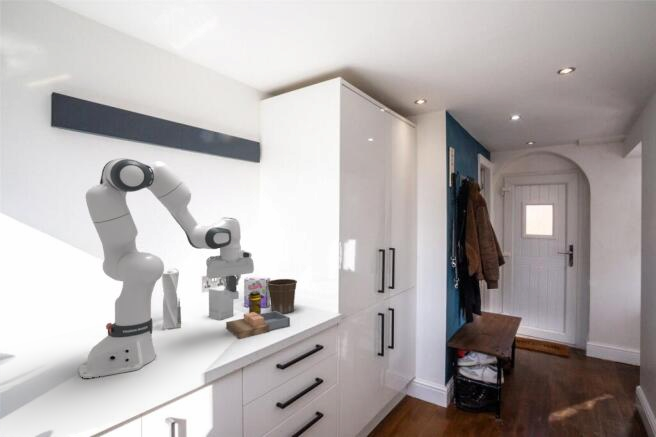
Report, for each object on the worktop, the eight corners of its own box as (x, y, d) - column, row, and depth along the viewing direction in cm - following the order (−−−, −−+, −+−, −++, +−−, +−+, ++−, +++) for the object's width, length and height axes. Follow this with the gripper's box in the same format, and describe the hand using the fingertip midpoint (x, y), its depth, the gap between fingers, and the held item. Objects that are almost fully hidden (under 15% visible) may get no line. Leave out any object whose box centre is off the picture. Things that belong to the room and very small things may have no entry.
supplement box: (234, 315, 167) (234, 287, 167) (220, 320, 160) (219, 290, 160) (222, 313, 172) (222, 285, 172) (208, 317, 164) (208, 288, 164)
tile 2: (253, 326, 142) (253, 319, 142) (248, 323, 146) (248, 317, 146) (263, 324, 145) (263, 317, 145) (259, 321, 149) (259, 315, 149)
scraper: (232, 299, 136) (231, 278, 136) (223, 294, 145) (223, 274, 145) (239, 298, 138) (238, 277, 138) (230, 293, 147) (229, 273, 147)
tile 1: (248, 323, 147) (248, 316, 147) (243, 320, 151) (243, 313, 151) (258, 320, 150) (258, 314, 150) (253, 318, 154) (253, 311, 154)
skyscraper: (180, 329, 148) (180, 268, 148) (160, 331, 144) (160, 269, 144) (181, 323, 155) (181, 265, 155) (162, 325, 152) (162, 266, 152)
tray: (268, 331, 144) (268, 322, 144) (255, 323, 156) (255, 314, 156) (289, 326, 151) (289, 317, 151) (275, 318, 162) (275, 310, 162)
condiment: (263, 316, 167) (263, 293, 167) (247, 318, 162) (247, 295, 162) (258, 312, 173) (258, 290, 173) (243, 315, 168) (242, 292, 168)
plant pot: (267, 316, 166) (267, 285, 166) (266, 308, 182) (266, 279, 182) (299, 314, 170) (299, 283, 170) (295, 306, 185) (295, 278, 185)
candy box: (243, 307, 183) (243, 278, 183) (248, 304, 189) (248, 276, 189) (266, 308, 181) (266, 279, 181) (270, 305, 187) (270, 277, 187)
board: (239, 338, 135) (239, 331, 135) (226, 328, 148) (226, 321, 148) (269, 331, 144) (269, 325, 144) (254, 322, 157) (254, 316, 157)
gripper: (208, 257, 132) (209, 291, 133) (255, 253, 144) (255, 283, 145) (204, 256, 137) (204, 288, 138) (249, 251, 150) (250, 281, 150)
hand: (231, 285), depth 141 cm, fingers closed on scraper, 3 cm apart
